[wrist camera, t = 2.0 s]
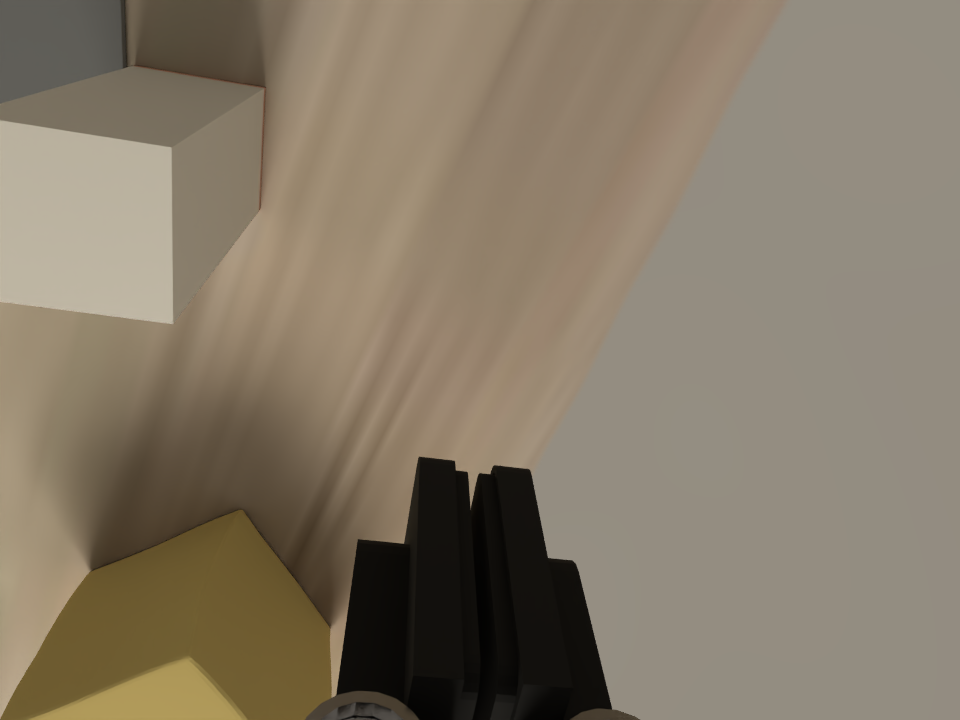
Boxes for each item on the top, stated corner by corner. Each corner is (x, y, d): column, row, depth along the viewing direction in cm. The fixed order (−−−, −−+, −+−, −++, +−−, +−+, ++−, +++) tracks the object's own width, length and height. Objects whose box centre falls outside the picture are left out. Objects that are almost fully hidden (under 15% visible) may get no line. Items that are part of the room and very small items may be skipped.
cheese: (189, 688, 45) (128, 863, 36) (75, 563, 40) (-27, 729, 31) (345, 630, 43) (322, 797, 35) (245, 493, 39) (188, 646, 30)
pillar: (134, 65, 29) (-38, 114, 19) (265, 87, 30) (171, 147, 19) (138, 191, 32) (-15, 299, 21) (260, 209, 32) (173, 324, 21)
